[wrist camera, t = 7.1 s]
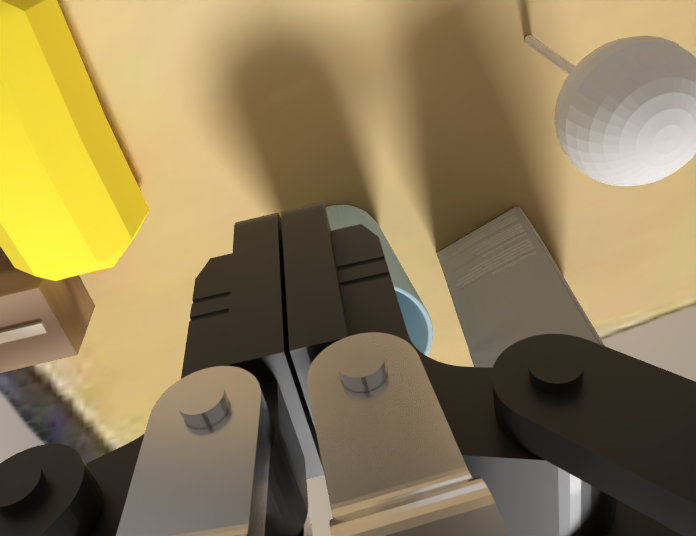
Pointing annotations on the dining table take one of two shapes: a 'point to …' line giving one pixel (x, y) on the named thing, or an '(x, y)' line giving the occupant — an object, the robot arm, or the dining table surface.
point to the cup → (405, 292)
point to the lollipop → (627, 109)
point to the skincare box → (509, 288)
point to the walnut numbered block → (40, 317)
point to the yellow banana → (57, 153)
